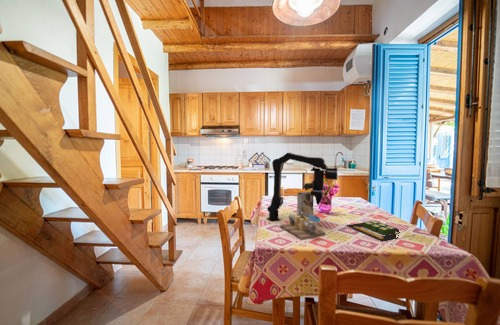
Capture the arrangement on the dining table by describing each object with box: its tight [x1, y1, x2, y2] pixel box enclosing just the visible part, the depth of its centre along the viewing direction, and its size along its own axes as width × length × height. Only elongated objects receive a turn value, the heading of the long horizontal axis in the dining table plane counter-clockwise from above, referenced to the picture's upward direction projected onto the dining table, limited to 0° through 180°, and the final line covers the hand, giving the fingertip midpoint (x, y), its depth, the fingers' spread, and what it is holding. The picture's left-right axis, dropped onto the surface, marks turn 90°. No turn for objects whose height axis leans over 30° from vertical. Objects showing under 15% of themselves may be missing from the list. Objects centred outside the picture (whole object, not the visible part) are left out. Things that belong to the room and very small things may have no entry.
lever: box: [299, 211, 321, 223], centre depth 123 cm, size 15×3×2 cm, turn 24°
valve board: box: [279, 213, 326, 241], centre depth 128 cm, size 20×16×9 cm
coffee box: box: [296, 191, 314, 216], centre depth 156 cm, size 9×6×16 cm
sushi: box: [344, 220, 400, 243], centre depth 131 cm, size 25×25×4 cm
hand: (317, 204), depth 136 cm, fingers closed
